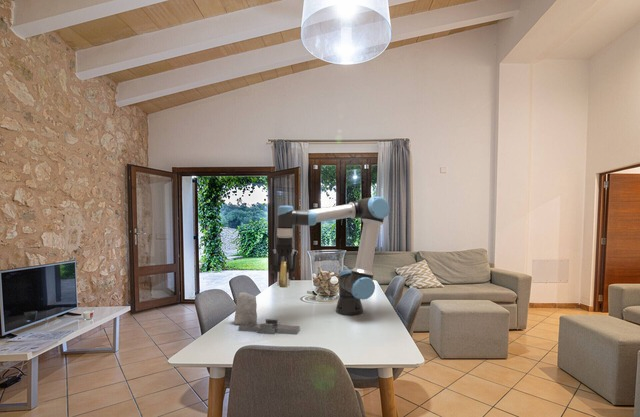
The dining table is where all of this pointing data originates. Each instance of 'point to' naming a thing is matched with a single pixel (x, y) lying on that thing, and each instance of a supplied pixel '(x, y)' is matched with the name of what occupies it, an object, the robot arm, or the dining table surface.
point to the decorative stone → (245, 309)
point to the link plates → (269, 327)
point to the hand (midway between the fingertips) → (283, 285)
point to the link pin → (283, 274)
